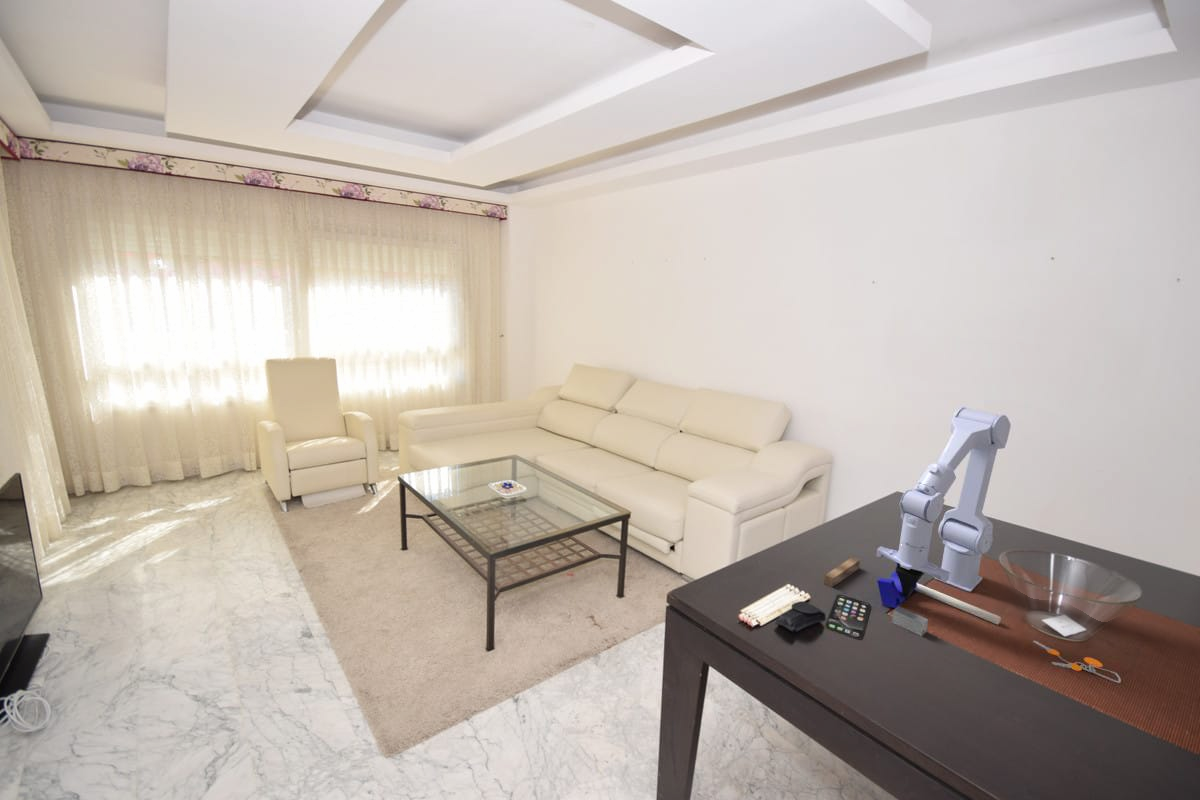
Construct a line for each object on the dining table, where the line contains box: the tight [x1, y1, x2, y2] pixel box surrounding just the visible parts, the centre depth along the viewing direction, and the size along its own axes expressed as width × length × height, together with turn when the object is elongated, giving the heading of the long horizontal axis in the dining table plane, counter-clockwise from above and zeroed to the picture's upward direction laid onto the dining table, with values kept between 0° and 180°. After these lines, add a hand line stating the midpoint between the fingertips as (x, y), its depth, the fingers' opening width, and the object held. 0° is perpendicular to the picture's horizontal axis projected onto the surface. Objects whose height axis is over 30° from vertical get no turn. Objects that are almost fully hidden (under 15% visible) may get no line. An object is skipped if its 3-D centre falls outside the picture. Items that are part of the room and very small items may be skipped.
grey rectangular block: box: [891, 605, 929, 637], centre depth 113 cm, size 2×6×3 cm, turn 39°
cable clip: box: [876, 562, 918, 609], centre depth 123 cm, size 12×4×6 cm, turn 130°
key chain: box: [1032, 640, 1122, 684], centre depth 103 cm, size 13×7×1 cm, turn 53°
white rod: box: [913, 582, 1002, 626], centre depth 122 cm, size 2×21×2 cm, turn 39°
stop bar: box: [823, 556, 861, 588], centre depth 132 cm, size 14×2×2 cm, turn 129°
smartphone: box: [824, 594, 872, 641], centre depth 117 cm, size 7×1×15 cm
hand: (906, 596), depth 121 cm, fingers closed
